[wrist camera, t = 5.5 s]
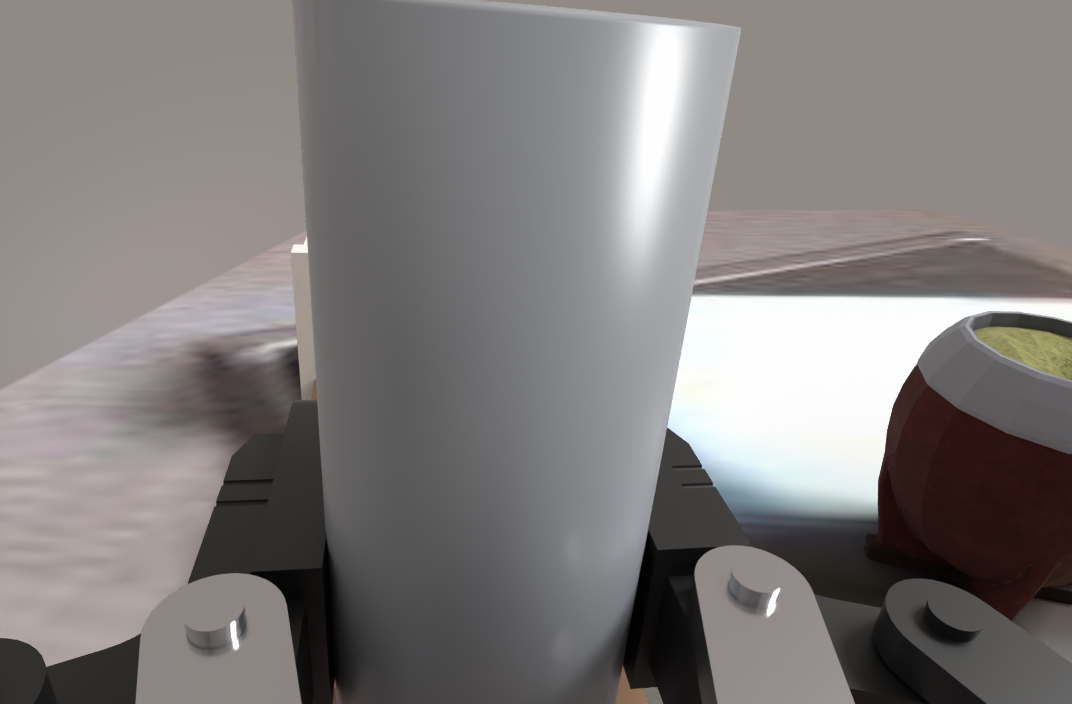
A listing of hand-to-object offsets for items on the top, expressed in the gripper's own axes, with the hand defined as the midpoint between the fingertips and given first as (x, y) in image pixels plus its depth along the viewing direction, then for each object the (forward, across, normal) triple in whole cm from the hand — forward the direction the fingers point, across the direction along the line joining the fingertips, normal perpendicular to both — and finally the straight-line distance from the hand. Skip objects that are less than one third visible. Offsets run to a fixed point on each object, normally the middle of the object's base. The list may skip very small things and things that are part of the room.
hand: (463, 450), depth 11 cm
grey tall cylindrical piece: (-2, 0, +8) cm, 8 cm away
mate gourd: (+5, -17, +9) cm, 20 cm away
